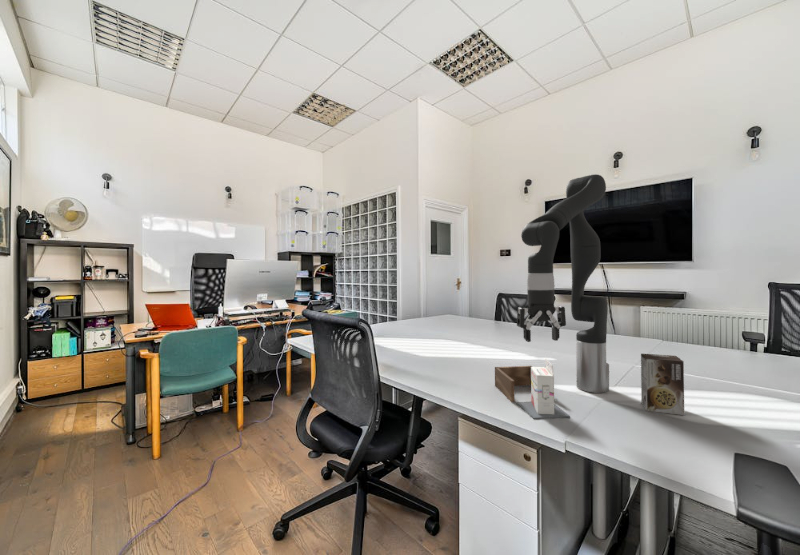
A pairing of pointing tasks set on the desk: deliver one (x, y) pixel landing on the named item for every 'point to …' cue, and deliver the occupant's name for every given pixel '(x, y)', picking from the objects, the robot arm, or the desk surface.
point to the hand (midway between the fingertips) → (541, 340)
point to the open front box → (512, 379)
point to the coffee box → (662, 383)
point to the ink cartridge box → (543, 388)
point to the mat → (533, 413)
